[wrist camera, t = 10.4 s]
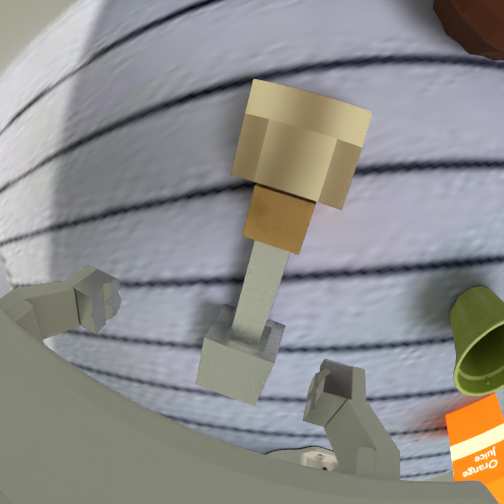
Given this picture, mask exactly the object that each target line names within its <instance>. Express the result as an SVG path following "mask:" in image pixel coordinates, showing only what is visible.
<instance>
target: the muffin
mask: <svg viewBox="0 0 504 504" xmlns="http://www.w3.org/2000/svg"><path fill="white" fill-rule="evenodd" d="M433 9H434V11H435V12H436V14H437V15H438V17H439V19H440V20H441V22H442V25H443V27H444V29H445V32H446V34H447V35H448V36H450V37H451V38H453V39H454V40H455V41H457V42H458V43H459V44H460V45H461V46H462V47H463V48H464V49H465V50H466V51H467V52H468V53H469V54H473V55H480V56H484V57H487V58H489V59H492V60H504V0H435V1H434V5H433Z"/></svg>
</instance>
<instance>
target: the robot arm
mask: <svg viewBox="0 0 504 504" xmlns="http://www.w3.org/2000/svg"><path fill="white" fill-rule="evenodd" d="M119 289H120V281H119V280H118V279H117V278H115V277H113V276H111V275H109V274H107V273H105V272H103V271H101V270H98V269H96V268H94V267H93V266H86V267H85V268H83V269H82V270H80V271H79V272H77V273H76V274H75V275H73V276H72V277H70V278H69V279H67V280H66V281H65V282H61V281H59V282H53V283H48V284H42V285H36V286H30V287H25V288H19V289H13V290H12V291H11V292H9V293H8V294H6V295H5V296H4V297H2V298H1V299H0V504H499V502H498V501H497V500H496V498H495V497H494V496H493V494H492V493H491V492H490V491H489V489H488V488H487V487H486V486H485V485H484V484H483V483H482V482H480V481H478V480H467V481H441V482H440V481H408V480H400V451H399V450H398V448H397V446H396V445H395V443H394V442H393V440H392V439H391V437H390V436H389V434H388V433H387V431H386V429H385V428H384V426H383V425H382V423H381V422H380V420H379V419H378V417H377V416H376V414H375V413H374V411H373V410H372V408H371V407H370V405H369V404H366V390H365V370H364V369H361V368H357V367H354V366H349V365H346V364H342V363H339V362H335V361H332V360H328V359H325V360H324V361H323V362H322V364H321V366H320V372H318V373H316V374H315V376H314V378H313V380H312V382H311V384H310V387H309V391H308V395H307V397H308V399H309V402H308V403H307V405H306V406H305V411H304V417H303V421H306V422H309V423H312V424H316V425H319V426H323V427H324V429H325V431H326V434H327V436H328V439H329V441H330V444H331V446H332V449H333V451H334V452H332V451H329V450H326V449H323V448H320V447H308V448H304V449H299V450H280V451H274V452H271V453H268V454H266V455H263V454H260V453H256V452H253V451H250V450H247V449H244V448H241V447H238V446H235V445H232V444H229V443H226V442H224V441H221V440H218V439H216V438H213V437H210V436H208V435H205V434H203V433H200V432H198V431H195V430H193V429H191V428H188V427H186V426H184V425H181V424H179V423H177V422H175V421H172V420H170V419H168V418H166V417H164V416H162V415H160V414H158V413H156V412H153V411H151V410H149V409H147V408H145V407H143V406H142V405H140V404H138V403H136V402H134V401H132V400H130V399H128V398H126V397H125V396H123V395H121V394H119V393H118V392H116V391H114V390H112V389H111V388H109V387H107V386H105V385H104V384H102V383H100V382H99V381H97V380H96V379H94V378H92V377H91V376H89V375H88V374H86V373H84V372H83V371H81V370H80V369H78V368H77V367H75V366H74V365H72V364H71V363H69V362H68V361H66V360H65V359H63V358H62V357H61V356H59V355H58V354H56V353H55V352H54V351H52V350H51V349H49V348H48V347H47V346H45V345H44V343H43V339H45V338H48V337H51V336H54V335H57V334H60V333H62V332H65V331H68V330H71V329H74V328H76V327H79V326H80V325H81V326H82V327H84V328H86V329H88V330H90V331H91V332H93V333H95V334H96V333H97V332H98V331H99V330H100V329H101V328H102V327H103V326H105V325H106V320H107V319H111V318H113V317H114V316H115V315H116V313H117V311H118V310H119V308H120V303H121V297H120V295H119V294H118V292H117V291H118V290H119Z"/></svg>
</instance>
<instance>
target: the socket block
mask: <svg viewBox="0 0 504 504" xmlns="http://www.w3.org/2000/svg"><path fill="white" fill-rule="evenodd" d="M372 113H373V112H371V111H368V110H365V109H362V108H360V107H357V106H354V105H351V104H348V103H345V102H342V101H338V100H335V99H332V98H329V97H325V96H322V95H319V94H315V93H311V92H308V91H304V90H300V89H296V88H292V87H288V86H284V85H280V84H276V83H271V82H266V81H262V80H257V79H253V83H252V87H251V91H250V95H249V99H248V103H247V107H246V112H245V116H244V120H243V124H242V128H241V132H240V137H239V141H238V145H237V150H236V154H235V158H234V163H233V167H232V172H231V175H232V176H236V177H239V178H243V179H246V180H250V181H253V182H256V183H260V184H263V185H266V186H270V187H273V188H276V189H279V190H283V191H286V192H289V193H292V194H295V195H298V196H301V197H304V198H308V199H311V200H314V201H317V202H320V203H323V204H325V205H328V206H331V207H334V208H337V209H340V210H342V207H343V204H344V201H345V198H346V195H347V193H348V190H349V187H350V184H351V181H352V178H353V175H354V172H355V168H356V165H357V162H358V159H359V156H360V153H361V150H362V146H363V143H364V140H365V137H366V133H367V130H368V126H369V123H370V120H371V116H372Z"/></svg>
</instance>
